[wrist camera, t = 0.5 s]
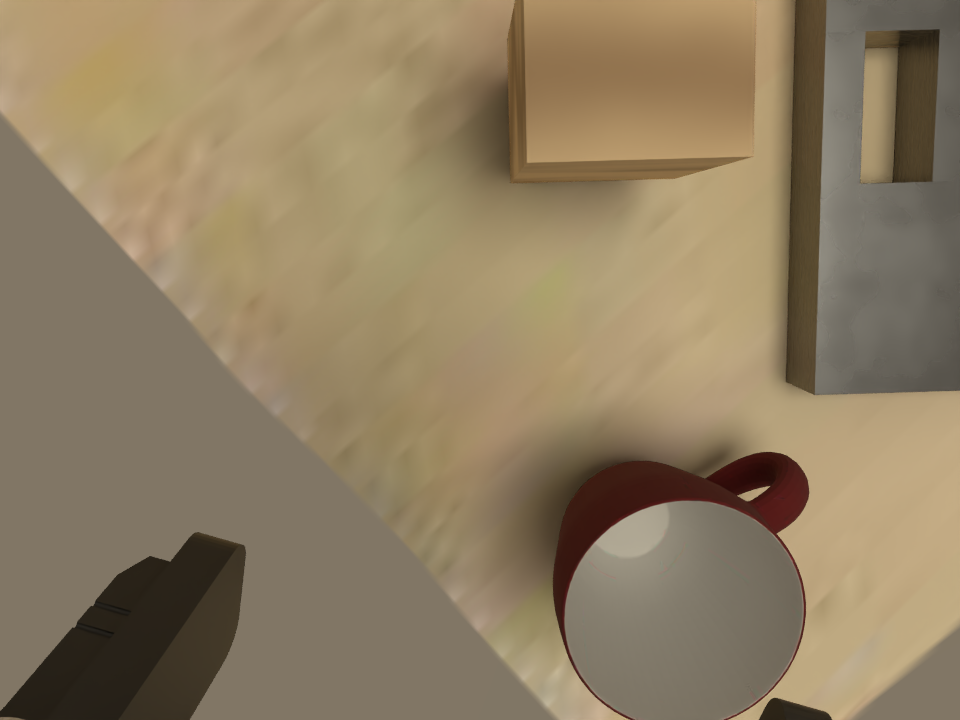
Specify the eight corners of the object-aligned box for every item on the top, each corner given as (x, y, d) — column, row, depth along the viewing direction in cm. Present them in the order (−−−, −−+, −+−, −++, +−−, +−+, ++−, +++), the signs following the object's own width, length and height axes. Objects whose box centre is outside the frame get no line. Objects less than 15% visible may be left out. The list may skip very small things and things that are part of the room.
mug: (683, 351, 36) (765, 394, 26) (798, 488, 37) (918, 579, 27) (497, 507, 37) (509, 605, 27) (614, 636, 38) (666, 777, 28)
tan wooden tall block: (502, 65, 34) (523, -38, 21) (648, 61, 34) (756, -44, 22) (504, 190, 35) (527, 162, 22) (648, 186, 35) (753, 156, 22)
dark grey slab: (800, -167, 33) (832, -207, 30) (1051, -173, 33) (1108, -213, 30) (786, 382, 36) (814, 394, 33) (1015, 375, 36) (1063, 387, 34)
